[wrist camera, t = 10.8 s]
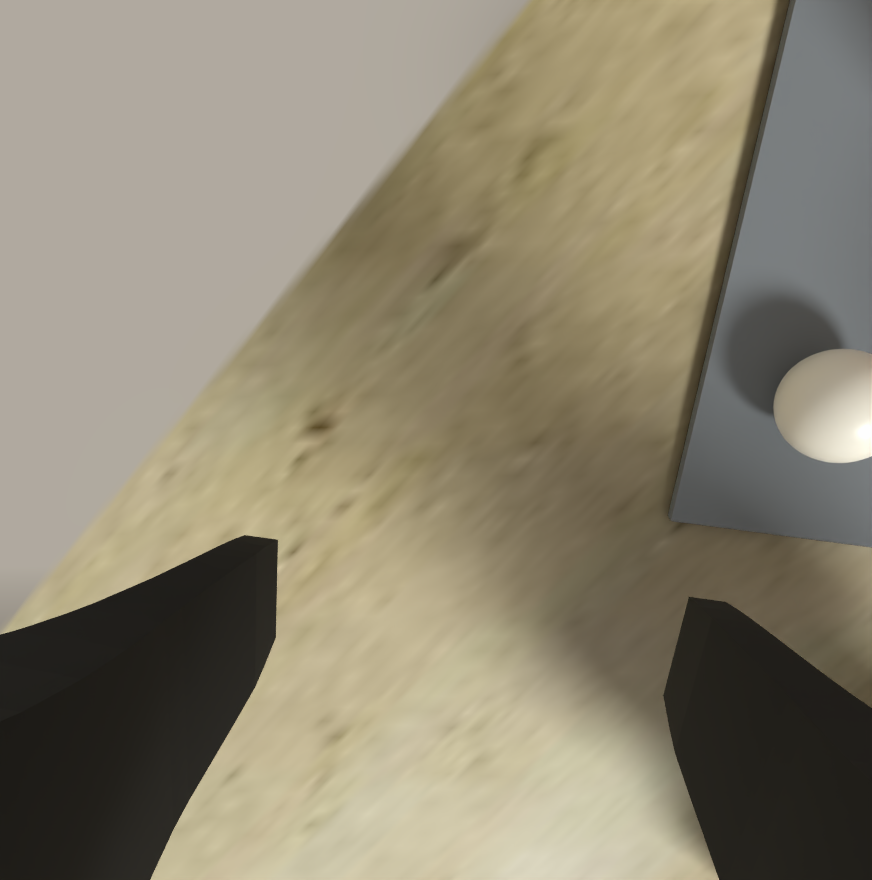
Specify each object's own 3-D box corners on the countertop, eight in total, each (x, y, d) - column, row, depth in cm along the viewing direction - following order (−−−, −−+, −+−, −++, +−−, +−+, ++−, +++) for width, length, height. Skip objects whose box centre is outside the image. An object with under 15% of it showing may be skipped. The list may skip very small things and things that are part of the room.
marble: (849, 448, 18) (913, 487, 16) (744, 435, 19) (788, 471, 16) (882, 347, 17) (956, 368, 15) (771, 334, 18) (823, 353, 15)
